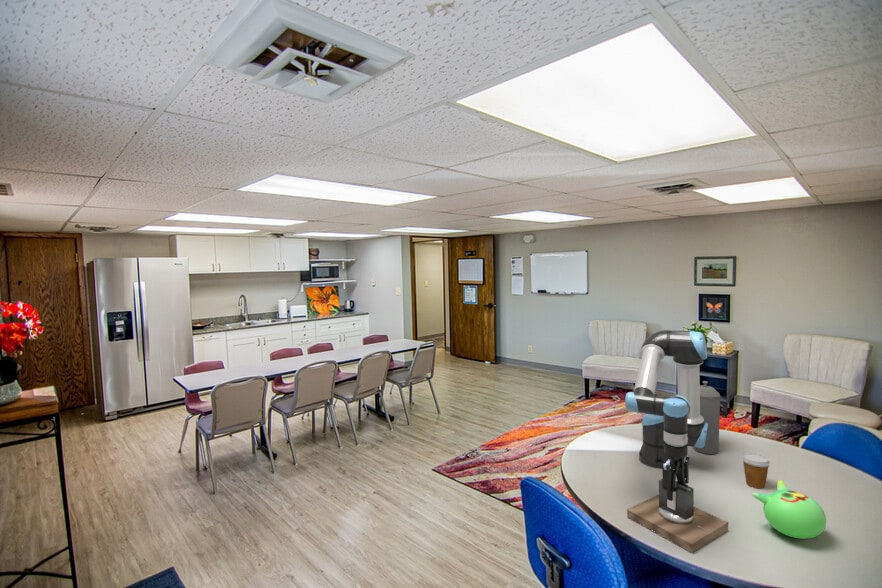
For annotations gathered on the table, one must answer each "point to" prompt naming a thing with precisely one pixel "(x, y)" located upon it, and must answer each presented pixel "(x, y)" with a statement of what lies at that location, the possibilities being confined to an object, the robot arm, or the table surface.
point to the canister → (710, 418)
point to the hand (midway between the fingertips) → (675, 505)
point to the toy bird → (793, 512)
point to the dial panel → (679, 525)
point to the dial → (677, 504)
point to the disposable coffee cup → (755, 470)
